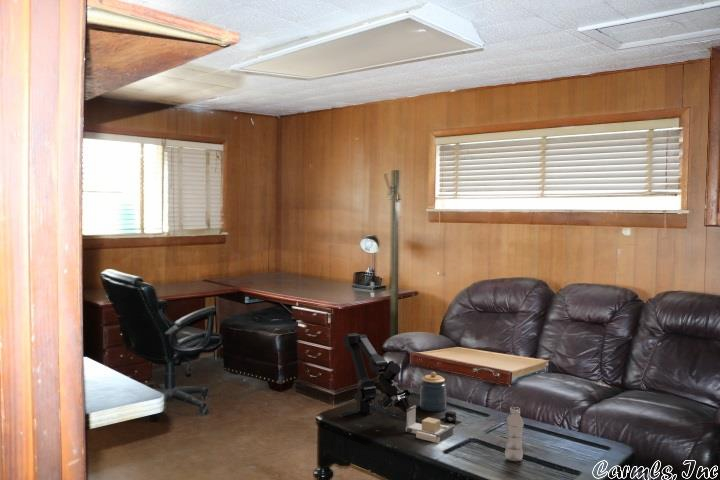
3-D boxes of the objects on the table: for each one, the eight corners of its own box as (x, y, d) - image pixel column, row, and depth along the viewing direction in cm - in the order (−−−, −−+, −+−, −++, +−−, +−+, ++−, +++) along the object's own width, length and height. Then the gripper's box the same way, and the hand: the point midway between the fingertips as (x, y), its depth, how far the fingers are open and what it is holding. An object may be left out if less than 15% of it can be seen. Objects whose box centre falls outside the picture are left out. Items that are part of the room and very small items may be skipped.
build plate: (466, 423, 273) (466, 413, 273) (458, 427, 267) (458, 417, 267) (442, 417, 281) (442, 407, 280) (434, 421, 275) (434, 411, 275)
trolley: (404, 432, 259) (405, 409, 259) (414, 426, 266) (415, 404, 266) (437, 440, 250) (438, 416, 250) (447, 434, 257) (447, 411, 257)
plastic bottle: (502, 456, 233) (503, 406, 232) (519, 456, 233) (520, 405, 233) (508, 463, 226) (509, 411, 226) (525, 463, 227) (526, 411, 226)
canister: (415, 404, 298) (416, 369, 297) (440, 402, 301) (440, 368, 300) (424, 412, 285) (425, 376, 285) (450, 411, 288) (450, 374, 288)
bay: (416, 437, 252) (416, 430, 252) (432, 428, 264) (432, 420, 264) (438, 443, 246) (438, 435, 246) (454, 433, 258) (454, 425, 258)
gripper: (389, 390, 279) (409, 418, 273) (366, 400, 264) (387, 430, 258) (403, 376, 275) (424, 404, 269) (381, 385, 259) (402, 415, 253)
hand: (409, 414), depth 262 cm, fingers closed, pressing on trolley
